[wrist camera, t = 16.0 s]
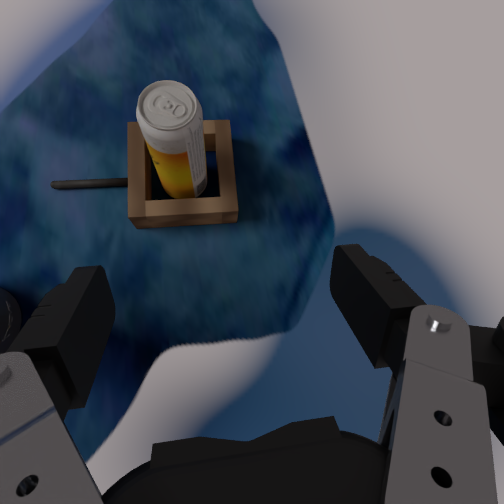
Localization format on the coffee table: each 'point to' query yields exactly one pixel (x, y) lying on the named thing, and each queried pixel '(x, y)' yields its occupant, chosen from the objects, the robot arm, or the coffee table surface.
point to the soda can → (174, 137)
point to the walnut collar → (173, 210)
